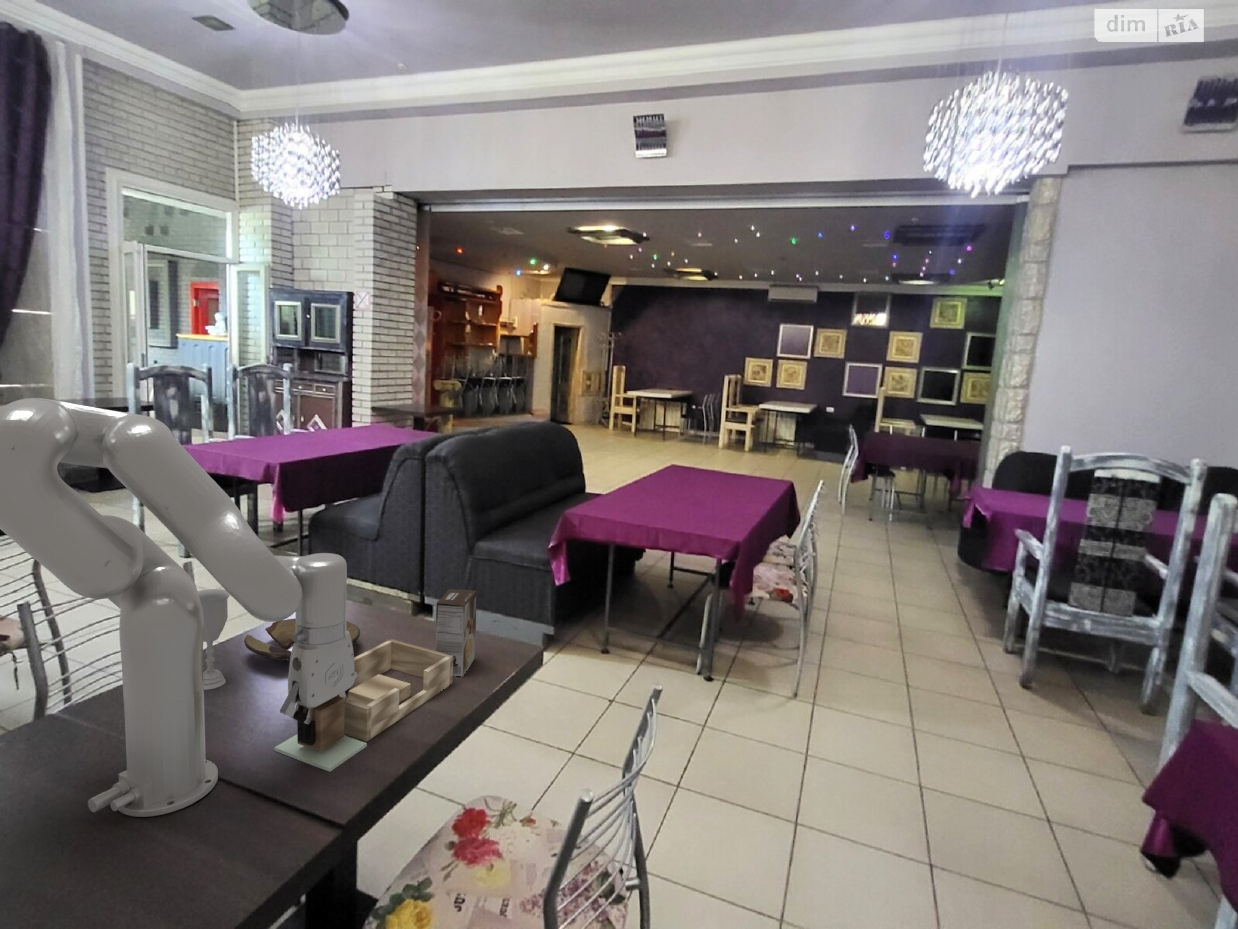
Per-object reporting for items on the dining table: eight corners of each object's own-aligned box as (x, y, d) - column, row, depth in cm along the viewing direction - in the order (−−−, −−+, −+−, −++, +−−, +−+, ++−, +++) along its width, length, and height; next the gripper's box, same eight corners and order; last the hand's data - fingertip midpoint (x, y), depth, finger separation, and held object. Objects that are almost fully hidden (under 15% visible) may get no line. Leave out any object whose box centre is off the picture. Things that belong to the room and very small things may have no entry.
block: (320, 751, 106) (320, 711, 105) (297, 743, 108) (297, 703, 107) (344, 736, 110) (344, 698, 109) (321, 729, 112) (321, 690, 111)
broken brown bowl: (216, 670, 133) (215, 634, 132) (313, 618, 162) (313, 588, 161) (312, 688, 129) (312, 651, 128) (395, 631, 158) (395, 600, 157)
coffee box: (447, 656, 146) (449, 587, 144) (475, 659, 146) (478, 590, 144) (433, 675, 137) (435, 602, 135) (463, 678, 137) (466, 604, 134)
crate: (366, 741, 112) (366, 709, 111) (297, 717, 118) (297, 686, 117) (452, 683, 134) (453, 656, 133) (390, 665, 140) (391, 639, 139)
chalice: (240, 677, 131) (238, 591, 128) (215, 693, 124) (214, 603, 121) (205, 673, 131) (203, 587, 129) (179, 689, 125) (177, 599, 122)
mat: (329, 772, 103) (329, 768, 103) (274, 750, 108) (274, 747, 108) (366, 746, 111) (366, 743, 111) (313, 727, 115) (313, 724, 115)
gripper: (294, 655, 97) (294, 767, 100) (377, 618, 113) (375, 716, 115) (258, 644, 100) (259, 753, 102) (343, 609, 115) (342, 705, 118)
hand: (320, 732), depth 109 cm, fingers open, 5 cm apart
